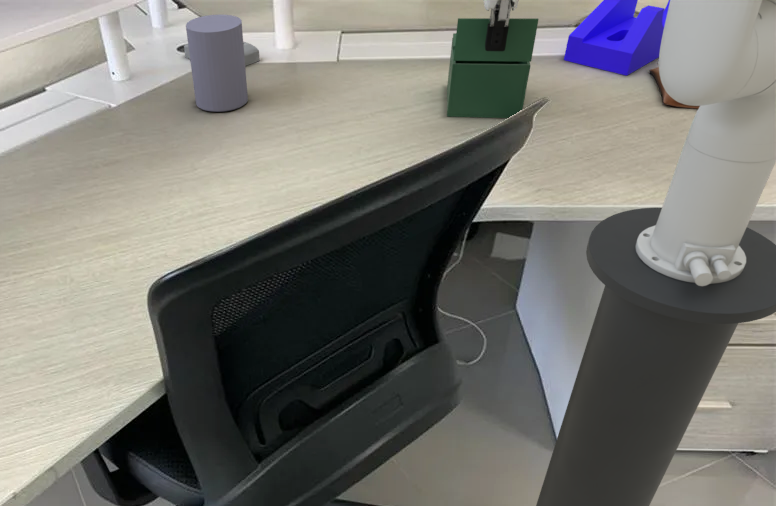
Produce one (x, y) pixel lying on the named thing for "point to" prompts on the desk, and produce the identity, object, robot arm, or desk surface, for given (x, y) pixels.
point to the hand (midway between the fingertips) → (494, 49)
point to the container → (217, 62)
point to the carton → (485, 87)
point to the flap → (474, 38)
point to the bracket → (618, 37)
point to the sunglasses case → (665, 96)
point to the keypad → (249, 53)
